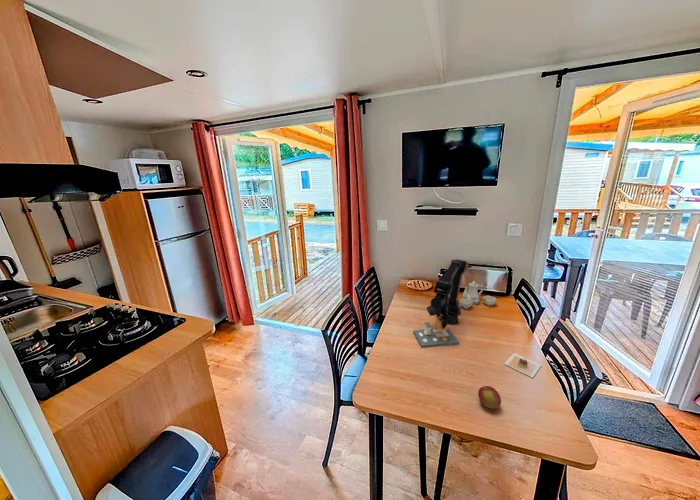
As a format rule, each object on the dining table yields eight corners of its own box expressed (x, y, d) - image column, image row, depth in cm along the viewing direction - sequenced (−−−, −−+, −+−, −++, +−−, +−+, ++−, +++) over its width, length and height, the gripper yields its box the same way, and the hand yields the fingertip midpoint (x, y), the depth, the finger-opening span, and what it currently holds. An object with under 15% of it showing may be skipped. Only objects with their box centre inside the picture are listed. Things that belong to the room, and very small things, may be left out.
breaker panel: (447, 329, 157) (448, 325, 156) (459, 344, 144) (459, 340, 143) (413, 332, 155) (413, 328, 155) (421, 347, 142) (421, 343, 141)
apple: (492, 396, 111) (494, 380, 108) (503, 413, 103) (506, 397, 101) (474, 397, 111) (476, 381, 108) (484, 414, 103) (486, 398, 101)
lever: (428, 330, 153) (428, 322, 151) (431, 335, 149) (431, 326, 147) (423, 331, 153) (423, 322, 151) (425, 335, 149) (426, 326, 147)
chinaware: (463, 315, 175) (467, 293, 168) (448, 301, 190) (452, 280, 183) (499, 308, 181) (504, 287, 175) (482, 295, 196) (486, 275, 190)
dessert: (532, 379, 119) (534, 370, 118) (503, 365, 128) (505, 357, 127) (541, 367, 127) (543, 358, 125) (513, 354, 136) (515, 346, 134)
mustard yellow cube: (434, 325, 153) (435, 316, 151) (443, 324, 153) (444, 315, 152) (438, 330, 148) (439, 321, 146) (447, 329, 149) (447, 320, 147)
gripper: (422, 294, 154) (421, 318, 159) (435, 310, 136) (433, 337, 141) (441, 293, 155) (439, 316, 160) (456, 309, 137) (454, 335, 142)
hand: (441, 325), depth 151 cm, fingers closed on mustard yellow cube, 5 cm apart
